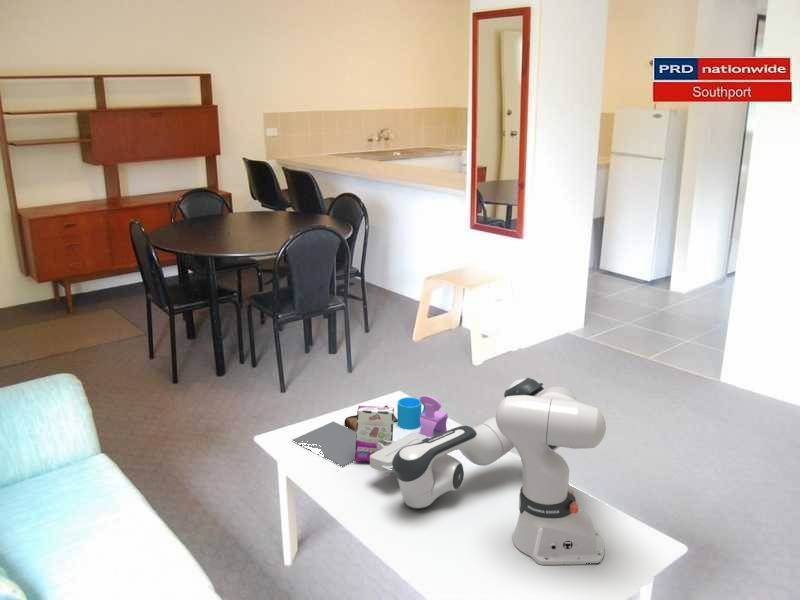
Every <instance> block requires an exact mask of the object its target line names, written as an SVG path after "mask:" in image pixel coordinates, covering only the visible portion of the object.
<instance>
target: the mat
mask: <svg viewBox="0 0 800 600" xmlns="http://www.w3.org/2000/svg"><path fill="white" fill-rule="evenodd" d="M292 440H293V441H295V442H297V443H307V444H311V445H312V444H317V446H316V445H314V446H313V445H312V446H311V445H309V447H312V448H318V449H321V451H322V452H323V454H324V457H325V458H327V459H329V460H331V461H333V462H335V463H337V464H339V465H340V466H339V465H338V466H339V467H341V466H342V467H341V468H344V467H346V466H348V465H350V464H352V463H354V462H356V461H355V452H356V432H355V431H353V430H351V429H349V428H347V427H346V426H345V425H342V424H340V423H337V422H335V421H331V422H329V423H327V424H324V425H322V426H320V427H317V428H315V429H313V430H311V431H309V432H307V433H305V434H302V435H300V436H298V437H295V438H293V439H292ZM302 441H303V442H302ZM307 441H308V442H307ZM307 444H306V445H304V444H303V445H304V446H308V445H307ZM301 445H302V444H301ZM319 445H320V446H321V447H320V446H319ZM321 451H320V452H321ZM320 452H319V453H320ZM320 454H321V453H320ZM323 454H322V455H323ZM325 458H324V459H325ZM327 459H326V460H327ZM329 460H328V461H329ZM331 461H330V462H331ZM353 461H354V462H353ZM333 462H332V463H333ZM351 462H352V463H351ZM335 463H334V464H335ZM349 463H350V464H349ZM337 464H336V465H337ZM347 464H348V465H347ZM345 465H346V466H345ZM343 466H344V467H343Z"/></svg>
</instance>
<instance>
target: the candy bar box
mask: <svg viewBox="0 0 800 600" xmlns="http://www.w3.org/2000/svg"><path fill="white" fill-rule="evenodd" d="M356 415H357V430H356V452H355V461H354V462H365V463H370V455H371V454H373V453H375V452H377V451H379V450H380V449H378V448H377V443H378V442H380V441H382V440H386V441H394V440H393V437H394V423H395V422H394V416H395V407H390V406H388V407H384V406H373V405H358V408H357V411H356ZM393 422H394V423H393Z"/></svg>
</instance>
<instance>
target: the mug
mask: <svg viewBox="0 0 800 600" xmlns="http://www.w3.org/2000/svg"><path fill="white" fill-rule="evenodd" d="M396 405H397V412H396V413H397V414H396V415H397V417H396V419H397V422H396V423H397V424H396V425H397V426H398V428H400V429H403V430H409V431H411V430H416V429H418V428H421V423H420V417H421V414H423V413H425V406H424V405H423V404H421V402H420V398H417V397H411V396H407V397H402V398H400V399H398V400H397V404H396ZM422 406H423V409H422Z"/></svg>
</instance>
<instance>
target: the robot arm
mask: <svg viewBox="0 0 800 600" xmlns="http://www.w3.org/2000/svg"><path fill="white" fill-rule="evenodd" d="M543 385H544V383H542V382H538V381H537V380H535V379H533V378H530V377H526V378H525V377H524V378H519V379H516V380H514V381H513V382H512V383H511V384H509V386H508V387H507V389H506V390H505V392H504V395H503V397H504V398H503V399H502V400H501V401H500V402H499V404H498V406H497V408H496V411H495V416H493V417H490V418H489V419H486V420H485V421H483V422H481V423H480V424H478V425H476V426H473V427H471V426H468V425H461V426H459V425H458V426H455V427H454V428H450V429H449V430H448V429H447V431H446V432H441V433H439V434H437V435H433V437H432V438H431V437H427V436H425V435H422V434H419V433H420V432H410V433H409V434H407V435H404V436H403V437H401V438H399V439H397V440H396V441H395V440H393V441H386V440H382V441H380V442H378V443H377V448H378V449H380V450H379V451H377V452H375V453H373V454H371V455H370V462H369V466H370V467H371V468H372V469H374V470H376V471H380V472H383V473H392V472H394V475H395V476H396V478H397V482H398V486H399V489H400V491H401V495H402V499H403V503H404V504H405V505H406V506H407V507H409V508H411V509H415V510H422V509H426V508H429V507H430V506H431V505H432V504H433V503H434V502H435V501H436V500H437V499H438V498H439V497H441V496H442V495H444V494H446V493H448V492H451V491H456V490H458V489H459V488H460V487H461V486H462V484H463V482H464V476H465V475H464V474H465V473H464V466H463V464H462V462H461V461H460V460H458V459H457V458H456V457H453V456H452V455H449V454H450V453H452V452H455V451H457V450H459V451H460V453H461V454H462V455H463V456H464V457H465V458H466V459H467V460H468V461H470V463H472V464H475V465H477V466H481V467H482V466H489V465H491V464H493V463H494V462H496V461H497V460H500V458H503V456H506V454H508V453H509V452H510V451H511V450H513V449H514V448H515V449H516V451H517V453H518V455H519V457H520V460H521V465H522V466H521V467H522V469H521V470H522V485H521V487H520V491H519V495H518V496H519V497H518V499H519V500H518V508H519V514H518V518H517V521H516V522H517V523H516V526H515V528H514V532H513V534H512V542H513V544H514V545H515V547H516V548H517V549H518V550H519V551H520V552H522V553H524V554H525V555H527V556H529V557H530V558H532V559H533V560H534V561H535V562H536V563H537V564H538V565H541V566H546V565H547V566H548V565H549V566H552V565H554V566H555V565H557V566H558V565H562V566H563V564H564V565H592V564H591V563H599V562H600V563H601V562H602V561H603V560H604V557H605V544H604V540H603V539H604V538H603V537H602V536H601V535H602V534H600V532H599V531H598V530H597V529H596V528H595V525H594V521H593V520H592V518H591V517H590V515H589V514H588V513H586V512H585V511H583V510H582V509H581V508H579V504H578V503H576V497H575V494H574V492H573V490H570V491H569V480H570V467H569V465H568V463H567V461H566V460H565V458H564V457H563V456H561V455H560V454H559V453H558V452H556V450H558V449H559V448H560V447H561V448H567V449H573V450H575V449H577V450H580V449H581V450H583V449H594V448H596V447H597V446H599V445H600V444H601V442H602V441H603V439H604V437H605V435H606V429H607V425H606V420H605V417H604V415H603V413H602V411H601V410H600V409H599V408H598V407H596V406H592V405H590V404H586V403H584V402H581V401H579V400H578V399H577V397H576V396H575V394H574V393H573V392H572V391H571V390H569V389H568V388H567V387H564V386H557V385H556V386H552V387H549V388H546V389H544V387H543ZM603 556H604V557H603ZM602 559H603V560H602ZM601 560H602V561H601ZM586 563H587V564H586ZM588 563H590V564H588ZM600 563H599V564H600Z"/></svg>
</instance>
